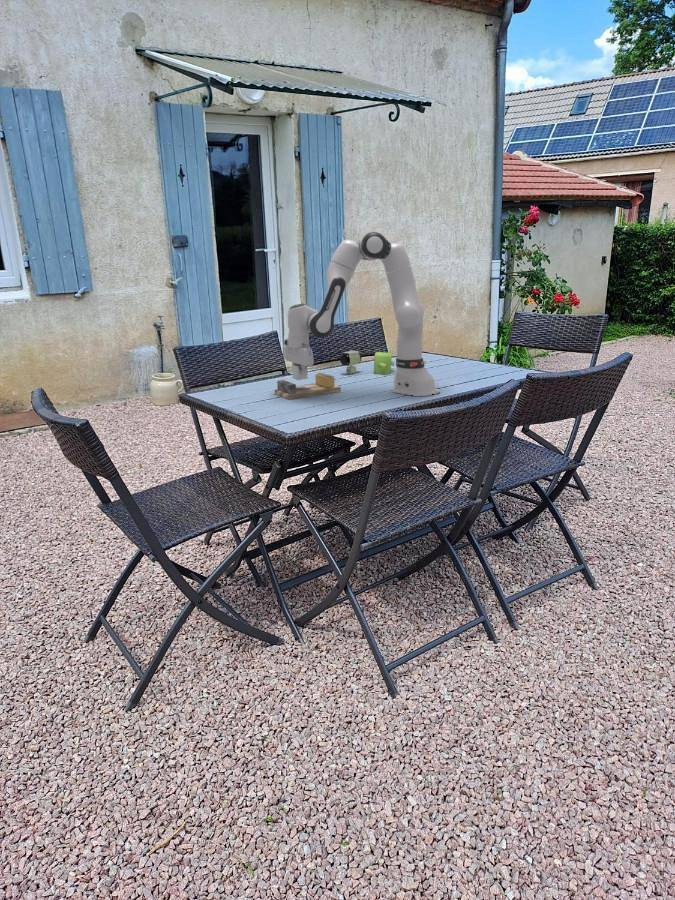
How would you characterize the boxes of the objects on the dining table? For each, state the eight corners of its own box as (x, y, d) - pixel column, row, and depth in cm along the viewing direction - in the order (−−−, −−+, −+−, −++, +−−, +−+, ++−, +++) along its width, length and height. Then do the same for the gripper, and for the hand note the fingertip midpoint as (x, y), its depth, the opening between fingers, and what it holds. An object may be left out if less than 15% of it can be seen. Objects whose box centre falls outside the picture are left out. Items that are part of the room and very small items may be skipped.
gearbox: (393, 376, 332) (394, 357, 329) (373, 375, 333) (374, 357, 330) (394, 369, 349) (395, 351, 346) (375, 368, 350) (376, 350, 347)
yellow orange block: (334, 386, 299) (334, 375, 298) (326, 387, 297) (326, 376, 296) (323, 382, 308) (322, 372, 306) (315, 383, 306) (315, 373, 304)
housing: (307, 378, 294) (307, 360, 292) (297, 379, 292) (297, 361, 289) (302, 376, 298) (301, 359, 296) (292, 378, 296) (291, 360, 293)
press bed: (340, 391, 299) (340, 378, 298) (289, 399, 287) (288, 386, 285) (324, 386, 311) (324, 373, 309) (274, 393, 298) (274, 380, 296)
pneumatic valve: (339, 374, 338) (339, 350, 334) (355, 370, 346) (355, 347, 342) (347, 375, 334) (347, 351, 330) (363, 372, 342) (363, 348, 338)
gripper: (316, 344, 283) (317, 376, 288) (294, 339, 300) (295, 369, 304) (303, 345, 280) (304, 378, 284) (281, 340, 297) (283, 371, 301)
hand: (299, 373), depth 294 cm, fingers closed on housing, 5 cm apart
